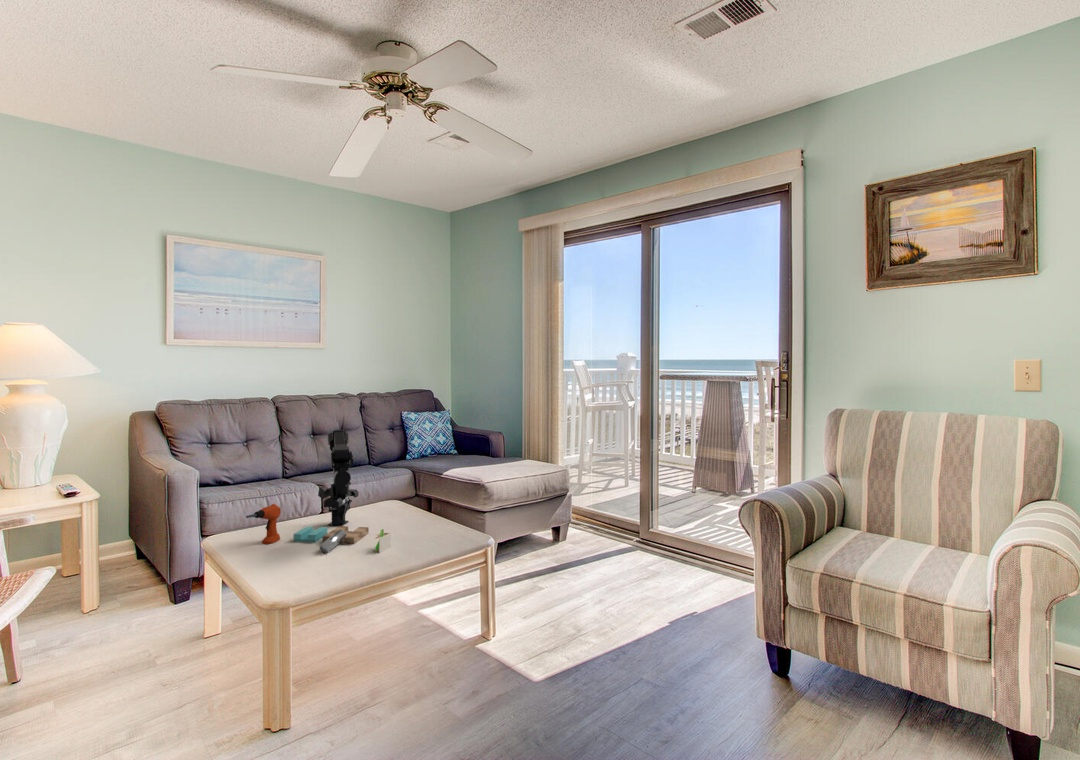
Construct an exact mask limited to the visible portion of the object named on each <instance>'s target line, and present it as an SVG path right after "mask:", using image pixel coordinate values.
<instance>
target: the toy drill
mask: <svg viewBox="0 0 1080 760" xmlns="http://www.w3.org/2000/svg"><path fill="white" fill-rule="evenodd" d="M281 511H282V509H281V507H280V506H279V505H277V504H276V503H273V504H271V505H268V506H264V507H263V508H261V509H259V510H257V511H255V512H254V513H252V514H247V515H246V516H245V518H246V519H249V518H255V519H263V520H267V522H266V526H265V530H266V535H265V537H263V539H262V540H261V544H263V545H272V544H274V543H277V542H278V541H280V540H281V536H280V533H278V530H277V521H278V520H277V519H279V517H280V516H281Z"/></svg>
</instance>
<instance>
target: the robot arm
mask: <svg viewBox="0 0 1080 760" xmlns="http://www.w3.org/2000/svg"><path fill="white" fill-rule="evenodd" d="M348 444H349V433H348V432H346V430H345V429H333V430H332V431H331V432H330V433H328V434H327V445H328V447H329V450H330V463H331V464H330V467H331V469H333V470H332V471H333V473H332V474H333V478H332V480H333V482H332V484H331V485H330V487H328V488H325V487H322V488H320V489H318V492H317V493H318V494H317V496H318V497H319V498H321V500H324V501H323V502H322V507H323V508H327V509H328V510H327V511H328V513H330V512H331V522H329V523H328V524H327V525H328V526H333V527H335V526H336V527H339V526H344V525H346V524H348V523H349V520H346V515H347V512H348V511H349V510H350V509H351V504H352V502H353V500H352V499H351V498H350V497H353V498H357V497H359V491H358V490H357V489H350V486H351V485H352V481H351V479H352V477H351V474H350V468H353V465H354V456H353V455H354V454H353V452H352V451H350V447H349V446H347V445H348Z"/></svg>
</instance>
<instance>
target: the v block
mask: <svg viewBox="0 0 1080 760" xmlns="http://www.w3.org/2000/svg"><path fill="white" fill-rule="evenodd" d="M326 534H328V527H327V526H326V527H323V526H320V527H318V528H317V529H315V530H314V526H306V527H304V528H302V529H299V530H298V531H297V532H295V533H293V542H295V543H313V544H314V543H317V542H318V541H320V540H323V536H324V535H326Z"/></svg>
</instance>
